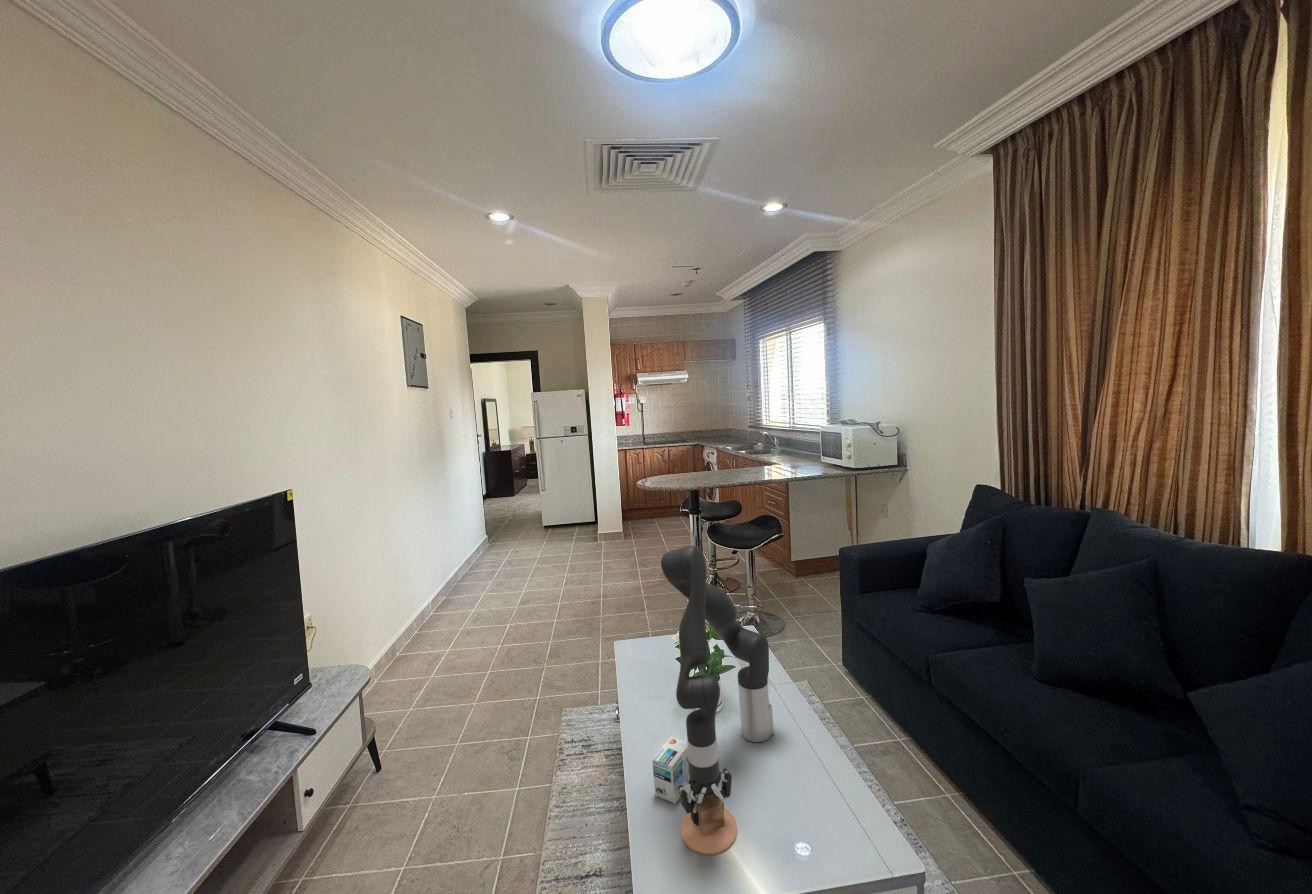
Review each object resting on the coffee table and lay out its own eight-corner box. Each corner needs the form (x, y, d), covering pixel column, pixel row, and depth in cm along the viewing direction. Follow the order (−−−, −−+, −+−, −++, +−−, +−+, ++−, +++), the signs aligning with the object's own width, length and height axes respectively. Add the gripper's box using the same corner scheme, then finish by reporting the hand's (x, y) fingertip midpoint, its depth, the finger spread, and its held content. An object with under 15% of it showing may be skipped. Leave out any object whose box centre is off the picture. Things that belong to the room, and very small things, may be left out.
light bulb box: (675, 804, 138) (672, 767, 137) (654, 796, 142) (651, 759, 141) (694, 778, 147) (691, 742, 146) (673, 770, 151) (670, 736, 150)
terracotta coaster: (720, 800, 138) (720, 797, 138) (747, 841, 125) (747, 837, 125) (672, 819, 133) (671, 816, 133) (695, 863, 120) (695, 859, 120)
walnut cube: (713, 808, 133) (711, 786, 132) (724, 826, 127) (723, 803, 127) (692, 817, 131) (690, 795, 130) (702, 835, 125) (701, 812, 125)
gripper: (721, 737, 133) (726, 797, 135) (670, 755, 128) (675, 817, 130) (736, 755, 126) (740, 818, 128) (682, 775, 121) (687, 840, 123)
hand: (707, 818), depth 129 cm, fingers closed on walnut cube, 6 cm apart
